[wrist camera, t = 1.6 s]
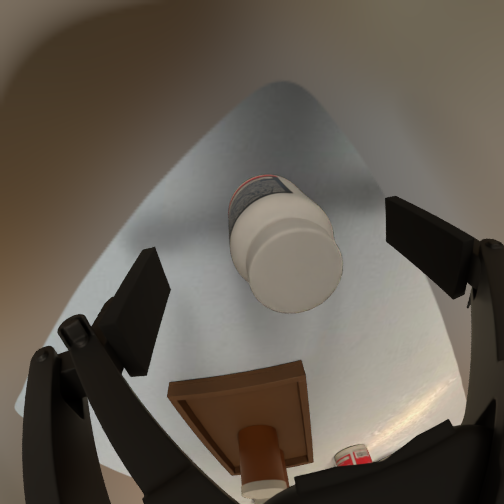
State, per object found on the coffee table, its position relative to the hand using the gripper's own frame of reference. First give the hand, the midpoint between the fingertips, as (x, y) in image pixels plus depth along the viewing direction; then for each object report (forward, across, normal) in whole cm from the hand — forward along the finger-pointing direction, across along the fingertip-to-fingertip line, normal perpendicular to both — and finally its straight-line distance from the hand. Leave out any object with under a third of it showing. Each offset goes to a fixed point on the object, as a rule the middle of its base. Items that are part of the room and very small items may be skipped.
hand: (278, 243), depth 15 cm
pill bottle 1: (+5, 0, 0) cm, 5 cm away
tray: (+5, -6, -28) cm, 29 cm away
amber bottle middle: (+5, -6, -28) cm, 29 cm away
